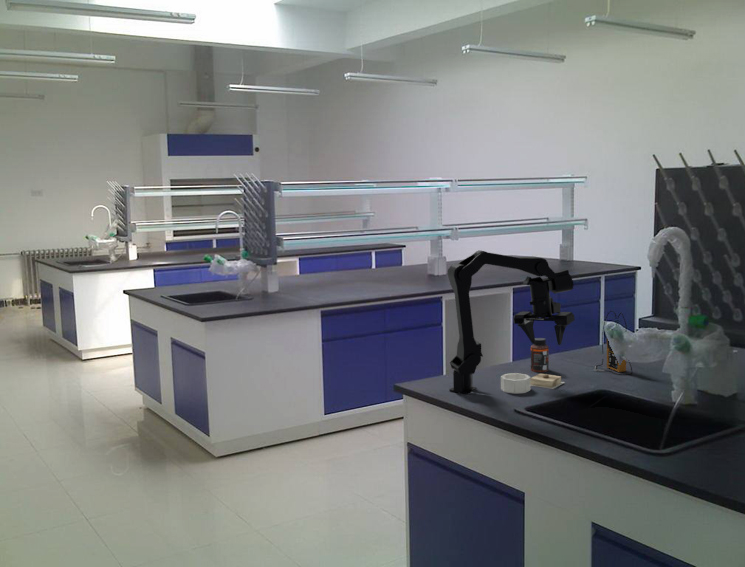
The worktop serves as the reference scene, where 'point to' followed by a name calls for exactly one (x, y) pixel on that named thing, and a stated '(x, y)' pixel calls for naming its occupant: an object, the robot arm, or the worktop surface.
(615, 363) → the multimeter
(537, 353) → the supplement bottle
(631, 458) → the worktop surface
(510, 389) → the bowl
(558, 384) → the mat
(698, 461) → the worktop surface
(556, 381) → the lid
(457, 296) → the robot arm
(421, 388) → the worktop surface
